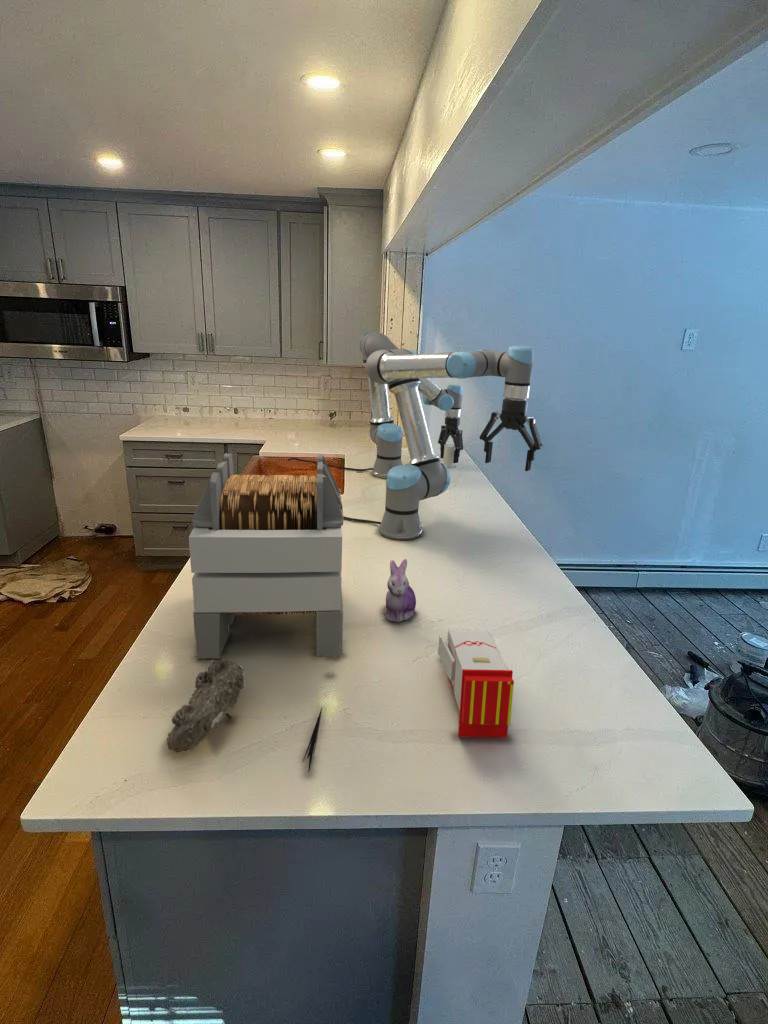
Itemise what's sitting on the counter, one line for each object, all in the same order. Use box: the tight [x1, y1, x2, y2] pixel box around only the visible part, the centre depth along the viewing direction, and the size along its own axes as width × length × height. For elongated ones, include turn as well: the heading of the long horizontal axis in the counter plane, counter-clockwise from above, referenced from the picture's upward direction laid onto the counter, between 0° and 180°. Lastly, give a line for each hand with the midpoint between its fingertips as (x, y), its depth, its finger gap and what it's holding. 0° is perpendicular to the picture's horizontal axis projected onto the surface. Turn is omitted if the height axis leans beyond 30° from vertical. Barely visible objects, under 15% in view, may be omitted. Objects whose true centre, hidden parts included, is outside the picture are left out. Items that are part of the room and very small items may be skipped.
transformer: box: [188, 452, 345, 660], centre depth 135 cm, size 34×33×41 cm
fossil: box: [166, 658, 245, 754], centre depth 106 cm, size 22×10×15 cm
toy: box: [437, 628, 515, 738], centre depth 117 cm, size 12×13×30 cm
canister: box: [442, 443, 456, 468], centre depth 289 cm, size 6×6×11 cm
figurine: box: [384, 558, 417, 623], centre depth 145 cm, size 9×10×15 cm
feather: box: [301, 673, 332, 771], centre depth 108 cm, size 2×28×2 cm
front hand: (507, 466), depth 180 cm, fingers open, 13 cm apart
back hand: (449, 460), depth 289 cm, fingers open, 10 cm apart
